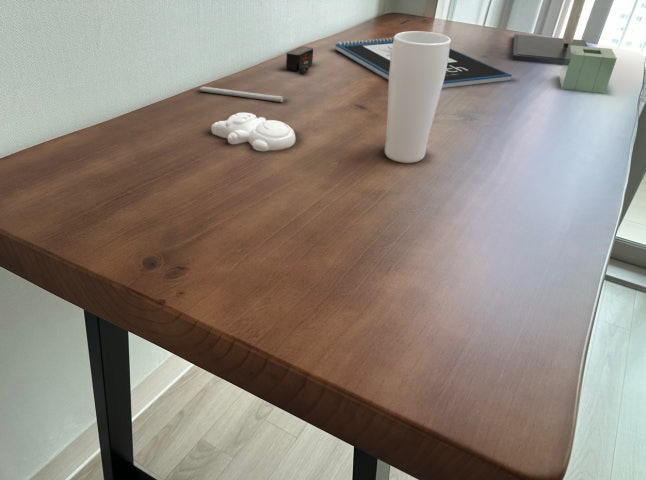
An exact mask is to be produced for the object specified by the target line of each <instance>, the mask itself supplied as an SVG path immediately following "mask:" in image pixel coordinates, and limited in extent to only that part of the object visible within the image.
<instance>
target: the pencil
mask: <svg viewBox="0 0 646 480" xmlns="http://www.w3.org/2000/svg"><path fill="white" fill-rule="evenodd" d="M198 89H199V90H200V91H201V92H204V93H211V94H219V95H226V96H234V97H241V98H248V99H255V100H264V101H271V102H272V101H273V102H277V103H282V102H283V101H284V97H283V96H280V95H271V94H263V93H255V92H248V91H241V90H233V89H232V90H231V89H225V88H217V87H211V86H210V87H209V86H202V87H199V88H198Z"/></svg>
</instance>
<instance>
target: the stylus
mask: <svg viewBox="0 0 646 480" xmlns="http://www.w3.org/2000/svg"><path fill="white" fill-rule="evenodd" d="M585 2H586V0H573V3H572V5H571V9H570V12H569V16H568V18H567V23H566V27H565V30H564V33H563V37H562V38H563V40H562V42H563V43H564V46H563V47H564V48H568V45H569V44H571V43H572V42H573V39H574V38H575V34H576V31H577V28H578V24H579V22H580V19H581V16H582V12H583V8H584V6H585Z"/></svg>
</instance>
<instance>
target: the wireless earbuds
mask: <svg viewBox="0 0 646 480" xmlns="http://www.w3.org/2000/svg"><path fill="white" fill-rule="evenodd" d="M313 59H314V48H313V47H310V46H302V45H301V46H298V47H295V48H294V49H292V50H289V51H287V52H286V57H285V69H286V71H289V72H295V73H299V74H306V73H307V72H308V71H309V68H310V67H311V66H312V65H313V61H314V60H313Z"/></svg>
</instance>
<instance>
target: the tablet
mask: <svg viewBox="0 0 646 480" xmlns="http://www.w3.org/2000/svg"><path fill="white" fill-rule="evenodd" d="M512 39H513V42H512V59H511V60H512V61H520V62H528V63H529V62H530V63H538V64H539V63H540V64H550V65H558V66H563V65H564V61H565V58H566V55H567V51H568V48H569V45H575V46H585V47H589V45H588V44H587V41H586V40H585V39H574V38H573V42H572V43H571V44H569V45H568V48H564V47H563V46H564V43H563V42H562V40H563V37H562V38H561V37H551V36H541V35H528V34H519V33H518V34H517V33H514V35H513V38H512Z"/></svg>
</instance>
